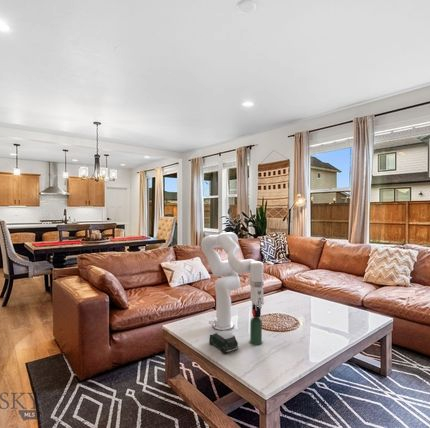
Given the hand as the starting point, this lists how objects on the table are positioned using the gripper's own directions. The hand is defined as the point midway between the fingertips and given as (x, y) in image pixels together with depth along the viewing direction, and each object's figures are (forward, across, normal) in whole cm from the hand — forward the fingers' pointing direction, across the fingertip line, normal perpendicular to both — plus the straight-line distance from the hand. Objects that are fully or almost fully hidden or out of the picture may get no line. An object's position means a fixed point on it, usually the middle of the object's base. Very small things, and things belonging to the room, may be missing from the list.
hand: (256, 315), depth 168 cm
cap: (+1, 0, 0) cm, 1 cm away
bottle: (+16, 0, 0) cm, 16 cm away
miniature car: (+16, 0, +19) cm, 25 cm away
